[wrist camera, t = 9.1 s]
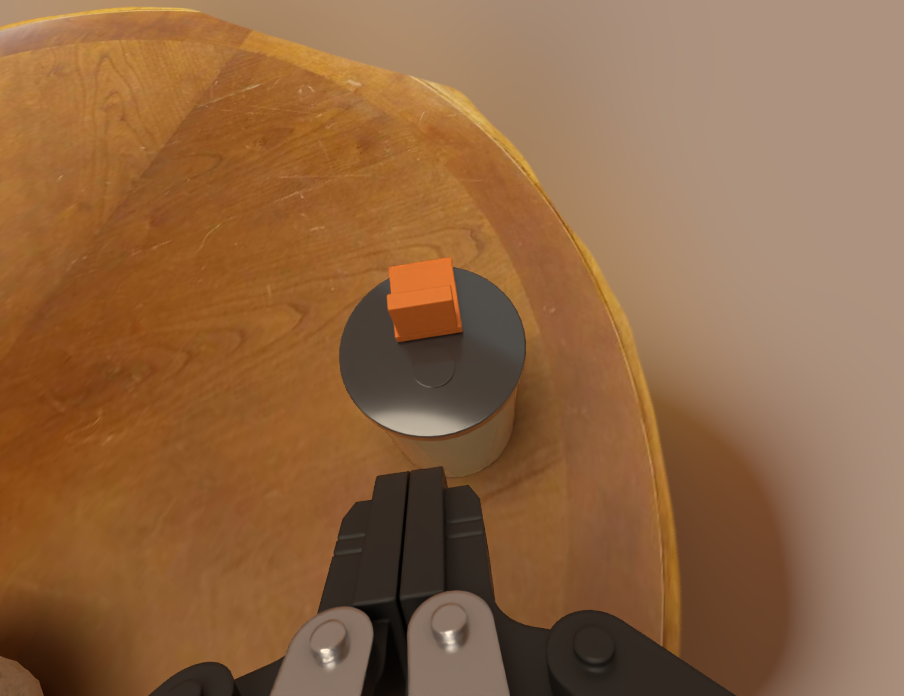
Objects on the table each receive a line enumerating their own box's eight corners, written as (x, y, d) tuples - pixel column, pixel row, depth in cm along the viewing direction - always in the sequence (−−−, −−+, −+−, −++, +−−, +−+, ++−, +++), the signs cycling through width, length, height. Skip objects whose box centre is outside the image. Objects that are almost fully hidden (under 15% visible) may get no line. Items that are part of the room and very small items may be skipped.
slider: (463, 332, 24) (457, 299, 21) (397, 342, 24) (382, 310, 21) (452, 263, 26) (446, 223, 23) (390, 273, 26) (376, 234, 23)
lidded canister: (530, 471, 33) (544, 419, 22) (394, 491, 33) (341, 451, 22) (505, 347, 36) (507, 251, 26) (383, 366, 37) (334, 279, 26)
